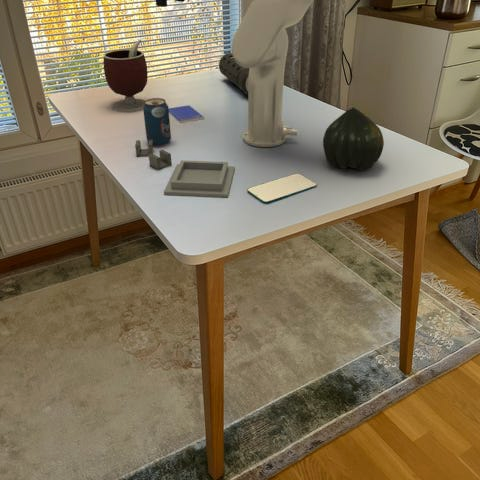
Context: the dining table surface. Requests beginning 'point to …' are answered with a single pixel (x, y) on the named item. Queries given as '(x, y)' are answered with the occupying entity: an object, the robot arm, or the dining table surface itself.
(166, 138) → the soda can
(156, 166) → the clip
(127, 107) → the mate gourd
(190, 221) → the dining table surface
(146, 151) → the clip
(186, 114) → the hard drive
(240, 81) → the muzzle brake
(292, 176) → the smartphone
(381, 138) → the squash
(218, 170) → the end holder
